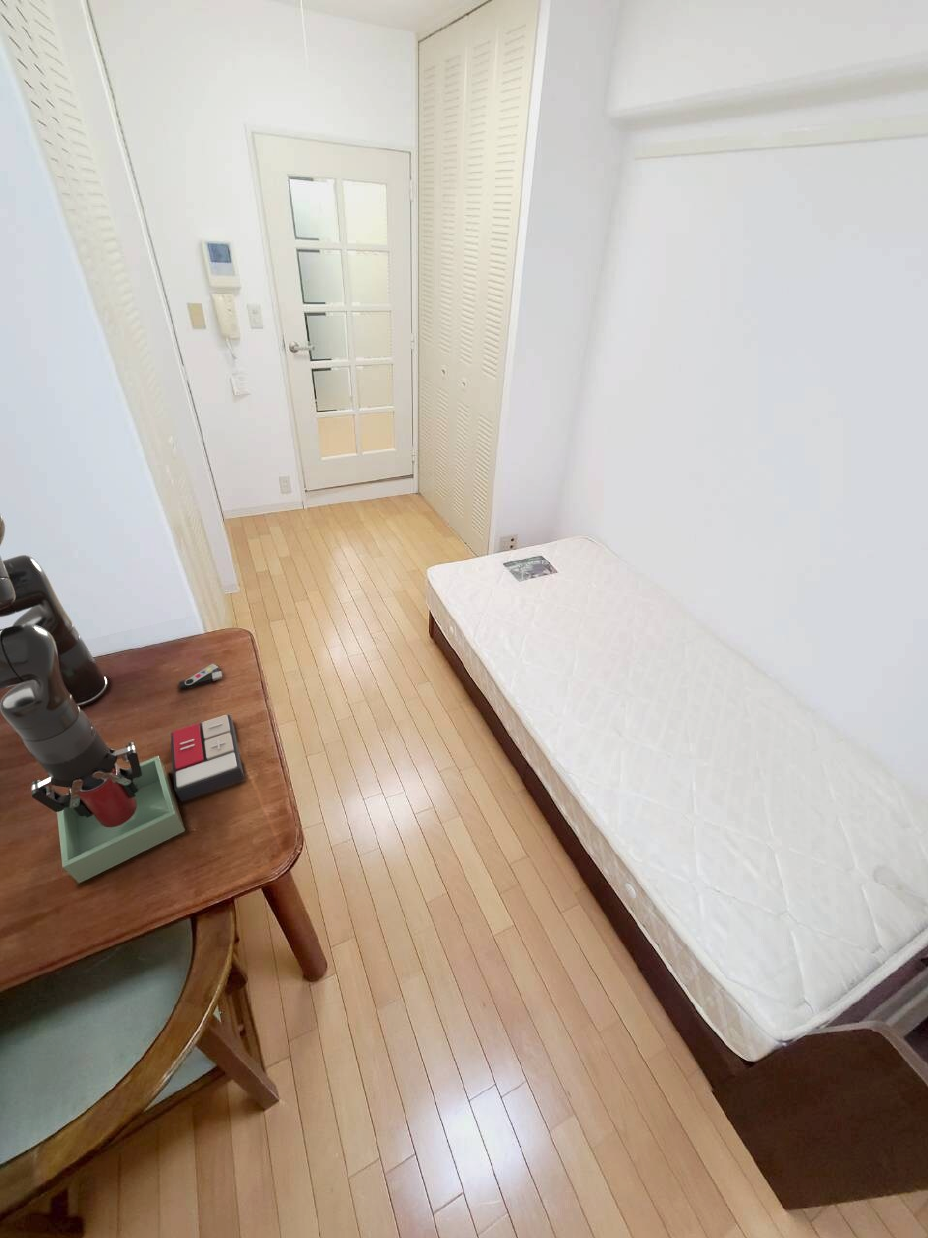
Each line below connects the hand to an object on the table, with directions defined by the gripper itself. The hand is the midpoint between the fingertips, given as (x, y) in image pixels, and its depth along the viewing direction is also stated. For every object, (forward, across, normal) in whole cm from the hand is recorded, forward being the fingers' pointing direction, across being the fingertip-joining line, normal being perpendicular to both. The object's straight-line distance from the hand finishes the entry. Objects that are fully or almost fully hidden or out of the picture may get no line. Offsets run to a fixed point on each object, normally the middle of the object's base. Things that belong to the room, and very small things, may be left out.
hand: (111, 802), depth 83 cm
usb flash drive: (+7, -19, -29) cm, 36 cm away
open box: (+7, 0, 0) cm, 7 cm away
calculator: (+7, -15, -6) cm, 18 cm away
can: (+3, 0, 0) cm, 3 cm away
